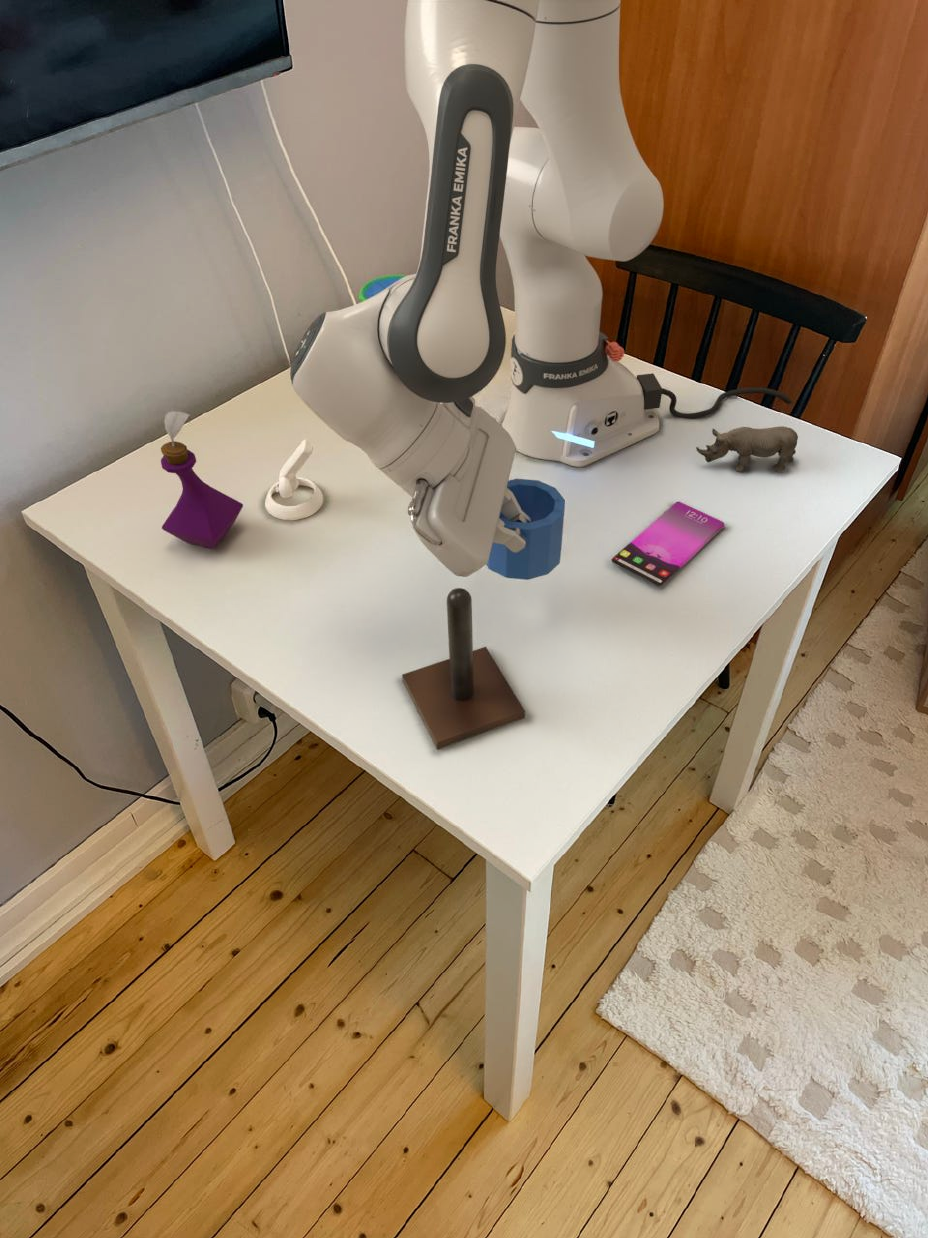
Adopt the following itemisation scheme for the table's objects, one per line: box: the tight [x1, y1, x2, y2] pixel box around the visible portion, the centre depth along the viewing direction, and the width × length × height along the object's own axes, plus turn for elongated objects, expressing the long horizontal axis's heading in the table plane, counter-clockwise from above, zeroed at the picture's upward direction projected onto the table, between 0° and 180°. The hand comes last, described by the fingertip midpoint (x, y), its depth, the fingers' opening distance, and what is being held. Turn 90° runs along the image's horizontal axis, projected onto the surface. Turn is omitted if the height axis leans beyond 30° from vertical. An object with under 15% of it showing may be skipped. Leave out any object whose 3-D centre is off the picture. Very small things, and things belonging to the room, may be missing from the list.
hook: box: [264, 439, 324, 521], centre depth 124 cm, size 8×12×7 cm
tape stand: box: [401, 587, 526, 750], centre depth 97 cm, size 10×10×16 cm
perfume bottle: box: [160, 410, 244, 550], centre depth 116 cm, size 8×8×18 cm
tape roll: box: [485, 478, 566, 581], centre depth 105 cm, size 9×9×7 cm
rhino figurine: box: [695, 425, 799, 473], centre depth 128 cm, size 4×14×6 cm, turn 89°
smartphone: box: [611, 501, 725, 587], centre depth 119 cm, size 7×15×1 cm, turn 139°
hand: (523, 536), depth 101 cm, fingers closed on tape roll
